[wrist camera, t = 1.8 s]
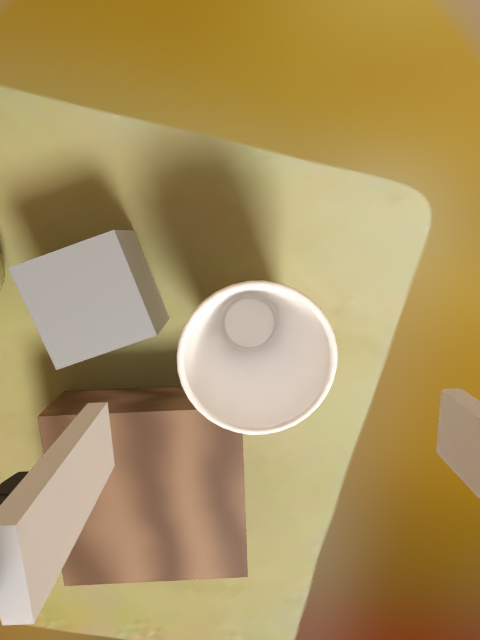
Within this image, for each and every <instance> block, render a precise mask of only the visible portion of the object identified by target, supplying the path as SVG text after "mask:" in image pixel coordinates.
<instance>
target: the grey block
mask: <svg viewBox="0 0 480 640" xmlns="http://www.w3.org/2000/svg"><path fill="white" fill-rule="evenodd" d="M8 269H9V271H10V273H11V275H12V278H13V280H14V282H15V284H16V286H17V288H18V290H19V292H20V294H21V297H22V299H23V301H24V303H25V305H26V307H27V309H28V311H29V313H30V316H31V318H32V320H33V322H34V324H35V326H36V328H37V330H38V332H39V335H40V337H41V339H42V341H43V343H44V345H45V347H46V349H47V351H48V354H49V356H50V358H51V360H52V362H53V364H54V366H55V368H56V370H58V369H61V368H64V367H67V366H70V365H73V364H75V363H78V362H81V361H84V360H87V359H90V358H93V357H96V356H99V355H102V354H104V353H107V352H110V351H113V350H116V349H119V348H122V347H125V346H128V345H131V344H134V343H136V342H139V341H142V340H145V339H148V338H151V337H154V336H157V335H158V333H159V332H160V331H161V329H162V328H163V326H164V325H165V324H166V322H167V321H168V320H169V317H168V314H167V312H166V309H165V307H164V304H163V302H162V299H161V297H160V294H159V292H158V289H157V286H156V284H155V281H154V279H153V276H152V274H151V271H150V269H149V266H148V264H147V261H146V259H145V256H144V254H143V251H142V249H141V246H140V243H139V241H138V238H137V236H136V233H135V231H134V230H112V231H109V232H106V233H103V234H100V235H98V236H95V237H92V238H89V239H87V240H84V241H81V242H78V243H76V244H73V245H70V246H67V247H64V248H62V249H59V250H56V251H53V252H51V253H48V254H45V255H42V256H40V257H37V258H34V259H31V260H28V261H26V262H23V263H20V264H17V265H15V266H12V267H9V268H8Z"/></svg>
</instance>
